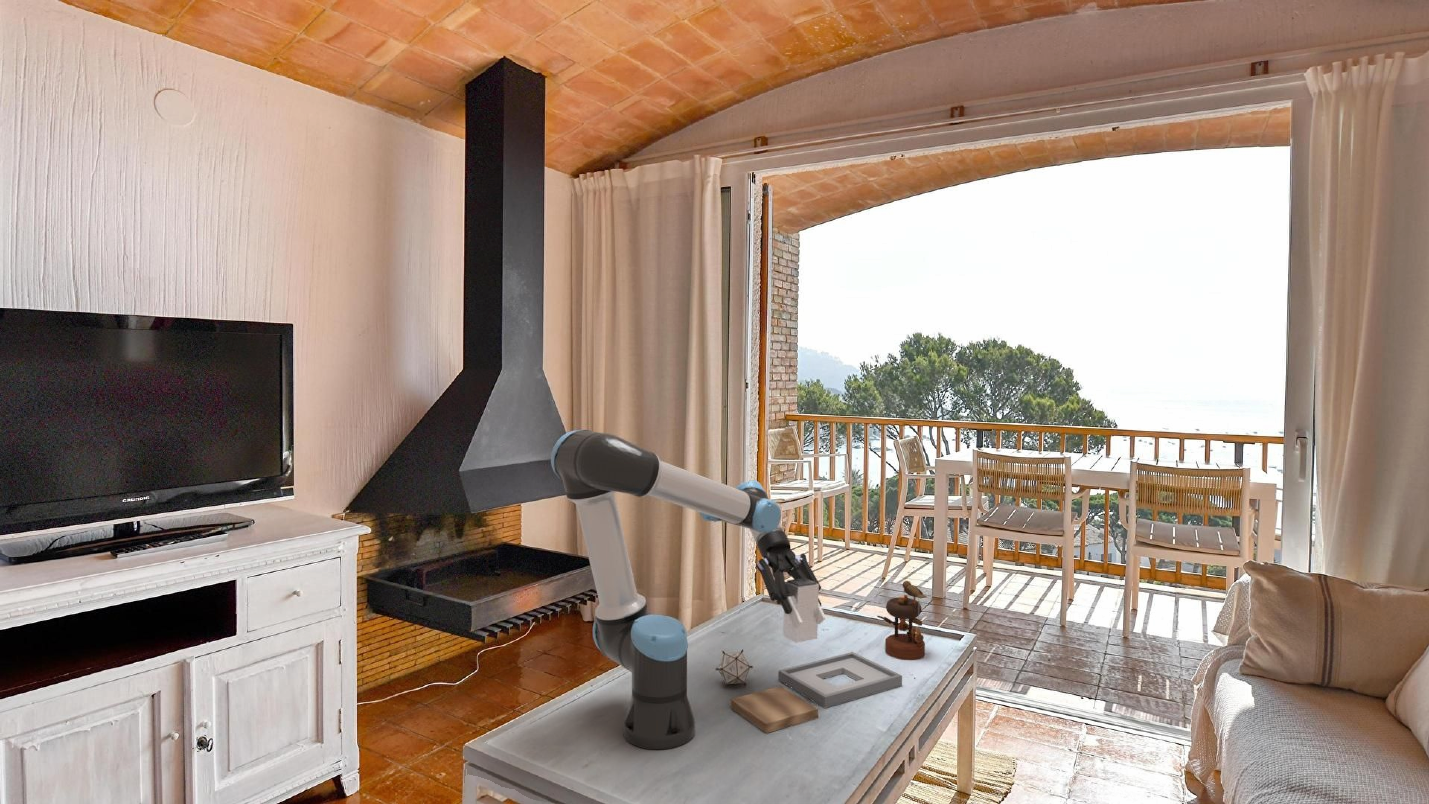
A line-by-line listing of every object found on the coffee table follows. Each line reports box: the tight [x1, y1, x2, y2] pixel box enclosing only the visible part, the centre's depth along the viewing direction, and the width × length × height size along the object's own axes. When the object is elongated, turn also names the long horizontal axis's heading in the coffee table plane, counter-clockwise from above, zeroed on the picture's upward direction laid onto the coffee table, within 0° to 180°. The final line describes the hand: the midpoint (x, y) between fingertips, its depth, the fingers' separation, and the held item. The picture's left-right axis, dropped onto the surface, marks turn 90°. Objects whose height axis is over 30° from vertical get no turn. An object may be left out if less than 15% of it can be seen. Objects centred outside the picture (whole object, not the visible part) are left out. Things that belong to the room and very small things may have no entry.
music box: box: [876, 580, 928, 661], centre depth 205 cm, size 15×11×20 cm
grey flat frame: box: [777, 651, 903, 709], centre depth 185 cm, size 24×18×2 cm
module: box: [782, 578, 820, 644], centre depth 174 cm, size 6×5×13 cm
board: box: [730, 685, 819, 734], centre depth 169 cm, size 14×14×2 cm
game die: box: [715, 649, 754, 688], centre depth 184 cm, size 9×8×10 cm
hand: (810, 623), depth 171 cm, fingers closed on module, 6 cm apart
